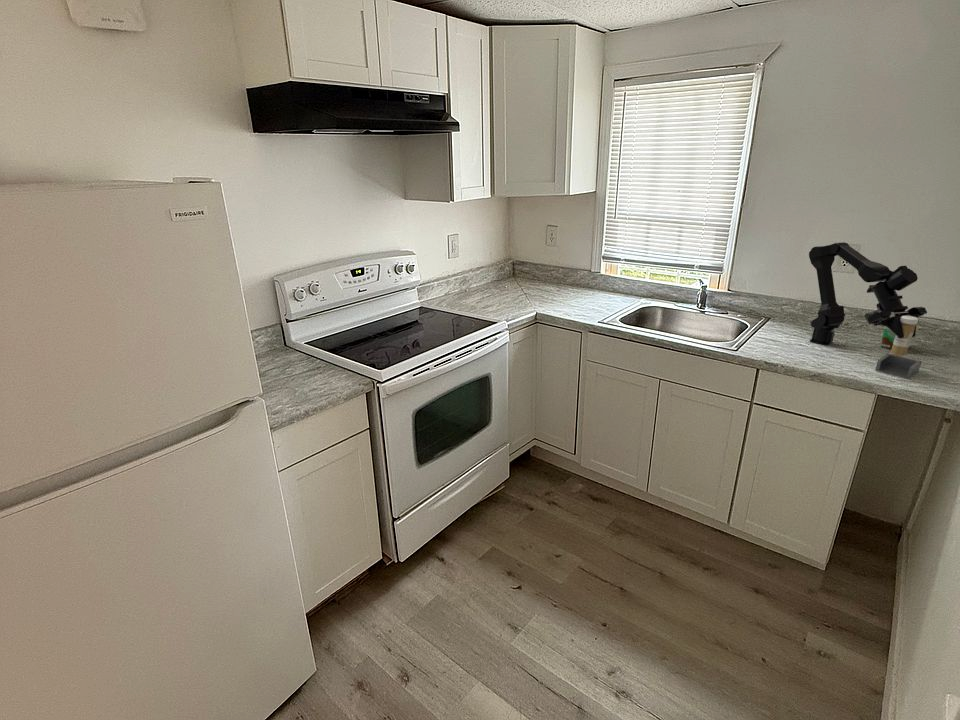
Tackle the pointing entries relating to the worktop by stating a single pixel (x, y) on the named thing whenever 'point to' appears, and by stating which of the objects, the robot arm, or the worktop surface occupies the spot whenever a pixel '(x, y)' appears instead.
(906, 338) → the sprinkles bottle
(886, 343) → the food container
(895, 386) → the worktop surface
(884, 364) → the dark grey shallow tray
